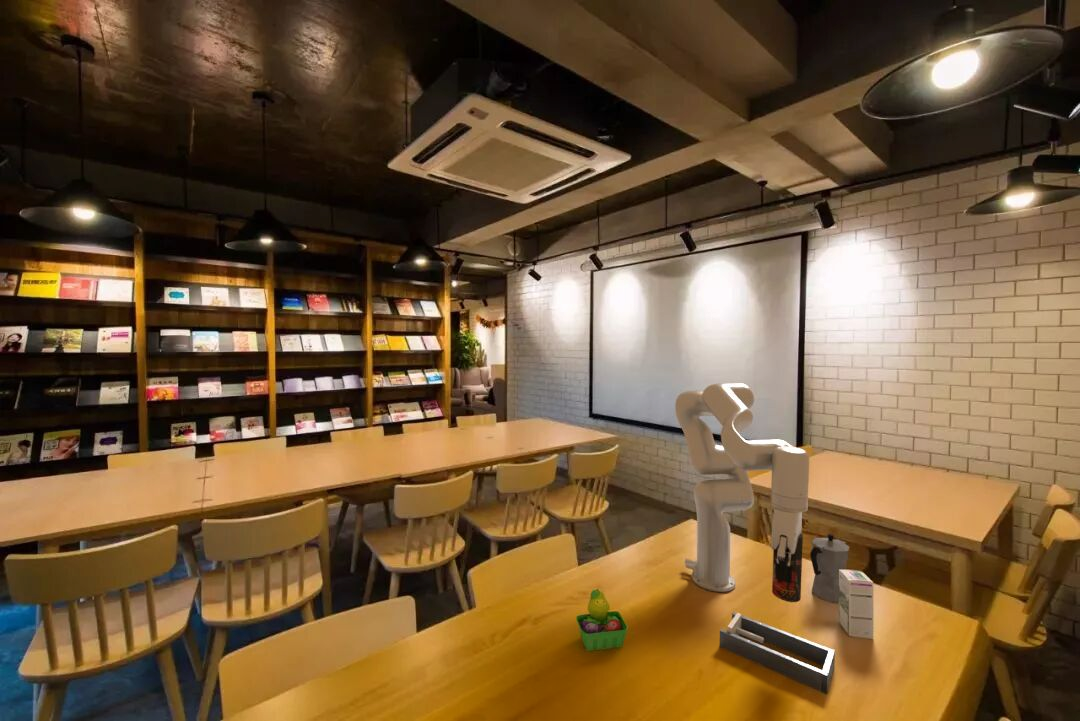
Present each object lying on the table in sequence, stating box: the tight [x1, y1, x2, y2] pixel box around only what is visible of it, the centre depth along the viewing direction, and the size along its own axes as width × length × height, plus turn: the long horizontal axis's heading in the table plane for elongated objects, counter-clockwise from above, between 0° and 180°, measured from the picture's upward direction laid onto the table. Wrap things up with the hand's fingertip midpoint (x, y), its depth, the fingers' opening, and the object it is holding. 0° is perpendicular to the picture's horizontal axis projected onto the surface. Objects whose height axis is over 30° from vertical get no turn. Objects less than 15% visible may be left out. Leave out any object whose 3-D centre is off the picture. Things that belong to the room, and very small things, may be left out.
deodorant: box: [771, 533, 804, 603], centre depth 103 cm, size 6×6×15 cm
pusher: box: [726, 612, 765, 644], centre depth 106 cm, size 7×7×4 cm
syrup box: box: [838, 569, 875, 640], centre depth 111 cm, size 6×6×14 cm
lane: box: [719, 611, 836, 695], centre depth 102 cm, size 22×10×4 cm, turn 49°
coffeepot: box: [809, 533, 850, 604], centre depth 127 cm, size 15×9×18 cm, turn 116°
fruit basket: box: [575, 589, 629, 652], centre depth 108 cm, size 11×9×11 cm
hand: (786, 573), depth 104 cm, fingers closed on deodorant, 5 cm apart
